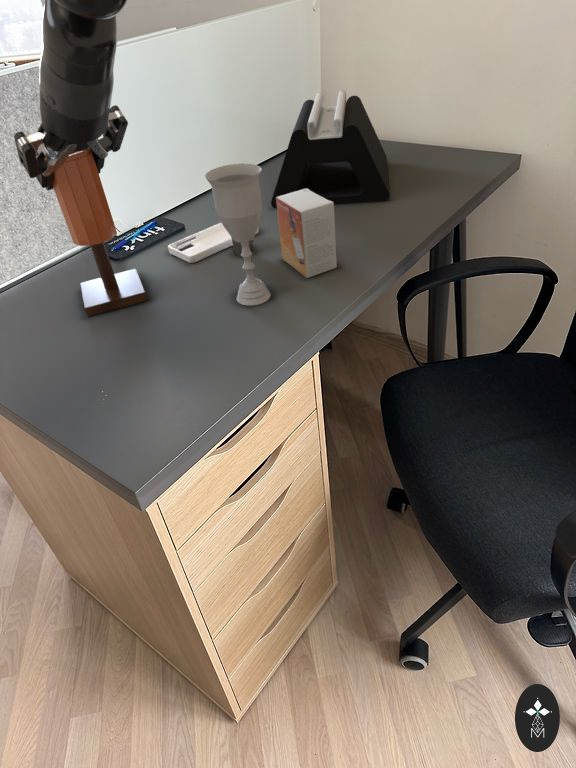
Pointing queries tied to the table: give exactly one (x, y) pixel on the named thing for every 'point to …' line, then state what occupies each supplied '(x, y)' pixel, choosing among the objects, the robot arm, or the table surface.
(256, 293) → the chalice
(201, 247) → the phone case
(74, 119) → the robot arm
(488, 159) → the table surface
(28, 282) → the table surface
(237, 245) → the milkshake
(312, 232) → the small box
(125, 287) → the stand
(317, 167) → the device stand
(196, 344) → the table surface
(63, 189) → the cup
